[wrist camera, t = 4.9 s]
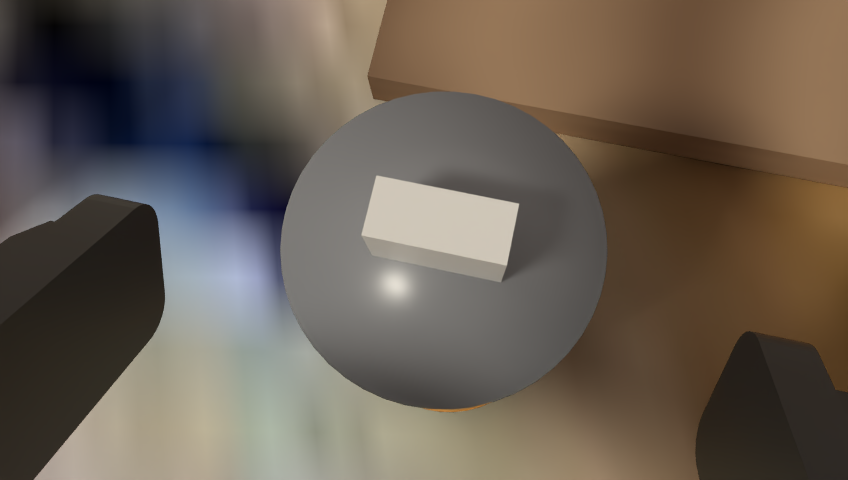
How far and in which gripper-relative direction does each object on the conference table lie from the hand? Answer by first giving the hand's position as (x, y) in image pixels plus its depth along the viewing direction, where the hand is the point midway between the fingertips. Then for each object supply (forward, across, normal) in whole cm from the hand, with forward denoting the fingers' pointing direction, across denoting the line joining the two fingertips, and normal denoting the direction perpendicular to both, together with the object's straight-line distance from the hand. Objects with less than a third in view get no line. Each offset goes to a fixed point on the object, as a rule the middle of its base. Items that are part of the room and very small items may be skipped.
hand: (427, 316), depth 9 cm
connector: (+5, 0, +4) cm, 6 cm away
